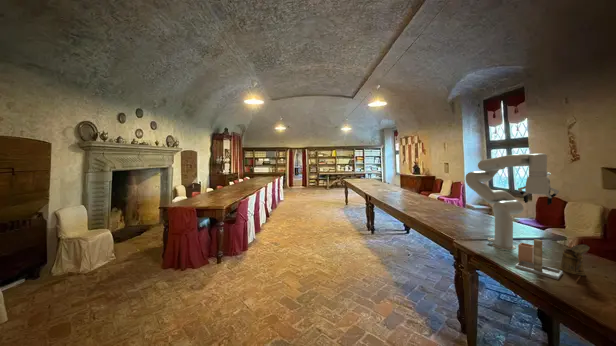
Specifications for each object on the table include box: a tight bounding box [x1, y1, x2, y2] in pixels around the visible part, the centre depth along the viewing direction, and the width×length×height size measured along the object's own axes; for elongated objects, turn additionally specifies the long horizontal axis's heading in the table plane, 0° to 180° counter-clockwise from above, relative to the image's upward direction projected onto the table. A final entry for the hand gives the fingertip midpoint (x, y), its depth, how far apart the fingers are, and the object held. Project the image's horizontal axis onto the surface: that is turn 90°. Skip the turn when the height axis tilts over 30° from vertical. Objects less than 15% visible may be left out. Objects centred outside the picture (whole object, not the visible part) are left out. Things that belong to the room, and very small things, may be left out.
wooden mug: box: [558, 243, 591, 277], centre depth 117 cm, size 9×14×18 cm, turn 154°
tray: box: [514, 260, 564, 280], centre depth 121 cm, size 16×10×2 cm, turn 33°
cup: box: [517, 242, 534, 263], centre depth 132 cm, size 6×6×10 cm
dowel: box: [533, 238, 543, 271], centre depth 120 cm, size 3×3×16 cm
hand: (537, 203), depth 135 cm, fingers open, 9 cm apart
